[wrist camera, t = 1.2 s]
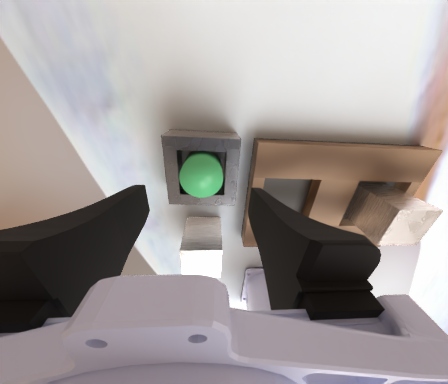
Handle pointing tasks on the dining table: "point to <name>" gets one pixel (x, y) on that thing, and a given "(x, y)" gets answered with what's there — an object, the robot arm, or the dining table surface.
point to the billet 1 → (202, 247)
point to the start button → (201, 174)
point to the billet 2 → (390, 214)
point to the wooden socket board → (331, 175)
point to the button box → (201, 141)
